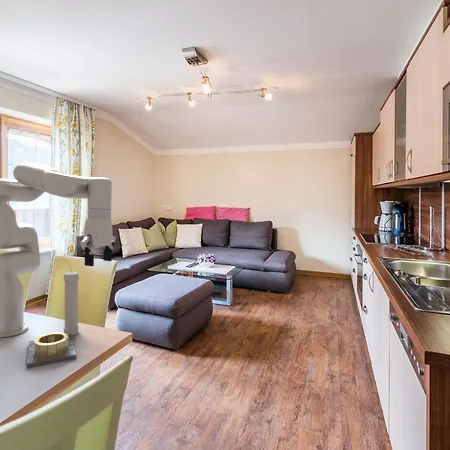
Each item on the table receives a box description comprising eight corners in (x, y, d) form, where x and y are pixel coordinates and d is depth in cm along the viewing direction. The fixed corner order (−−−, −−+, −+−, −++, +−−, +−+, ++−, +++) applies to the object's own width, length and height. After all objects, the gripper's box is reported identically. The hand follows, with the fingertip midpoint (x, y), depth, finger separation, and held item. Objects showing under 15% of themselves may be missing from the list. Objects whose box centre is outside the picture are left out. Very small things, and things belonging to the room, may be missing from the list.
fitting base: (28, 345, 115) (28, 330, 115) (71, 337, 122) (71, 324, 122) (27, 368, 99) (26, 351, 99) (76, 358, 107) (76, 342, 106)
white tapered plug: (72, 336, 123) (72, 260, 121) (58, 335, 124) (58, 259, 122) (81, 331, 128) (82, 258, 126) (68, 329, 130) (68, 257, 128)
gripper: (106, 212, 118) (105, 258, 119) (71, 214, 101) (71, 266, 103) (123, 214, 116) (122, 260, 117) (91, 215, 99) (91, 269, 101)
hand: (98, 263), depth 110 cm, fingers open, 9 cm apart
